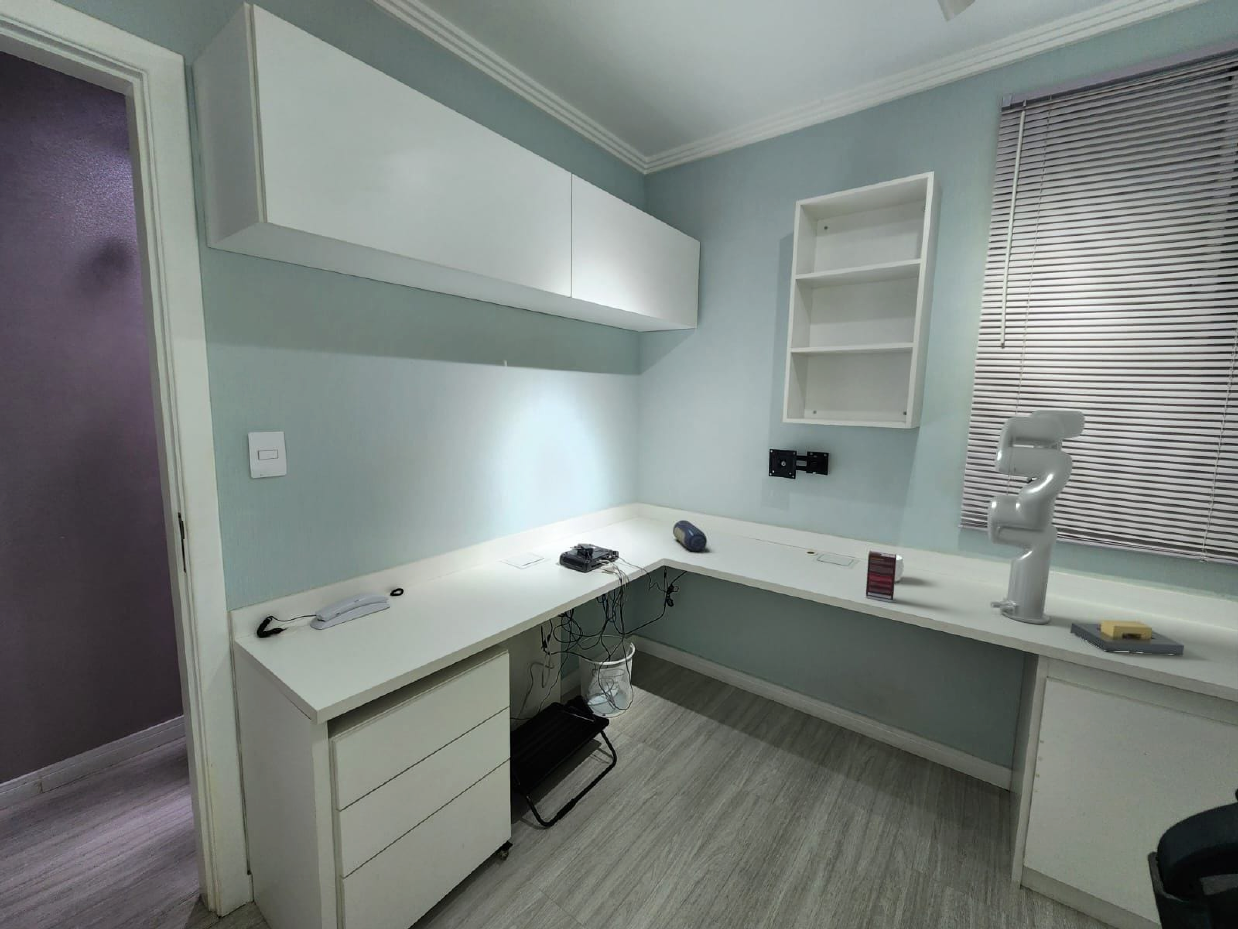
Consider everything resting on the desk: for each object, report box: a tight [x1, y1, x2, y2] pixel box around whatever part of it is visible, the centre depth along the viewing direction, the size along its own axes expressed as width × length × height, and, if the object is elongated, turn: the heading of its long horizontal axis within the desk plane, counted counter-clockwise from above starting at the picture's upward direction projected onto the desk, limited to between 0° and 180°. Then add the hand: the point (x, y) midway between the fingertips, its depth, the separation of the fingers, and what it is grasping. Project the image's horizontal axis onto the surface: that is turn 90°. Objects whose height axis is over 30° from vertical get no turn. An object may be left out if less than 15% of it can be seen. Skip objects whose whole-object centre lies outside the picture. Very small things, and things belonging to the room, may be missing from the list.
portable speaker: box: [672, 519, 708, 552], centre depth 239 cm, size 25×10×10 cm, turn 11°
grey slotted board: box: [1070, 622, 1185, 656], centre depth 148 cm, size 20×12×3 cm, turn 85°
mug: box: [888, 552, 905, 583], centre depth 197 cm, size 12×10×9 cm
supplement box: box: [865, 550, 897, 603], centre depth 178 cm, size 9×5×16 cm, turn 60°
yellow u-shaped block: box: [1101, 619, 1153, 639], centre depth 147 cm, size 10×4×6 cm, turn 85°
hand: (1041, 495), depth 180 cm, fingers open, 9 cm apart
